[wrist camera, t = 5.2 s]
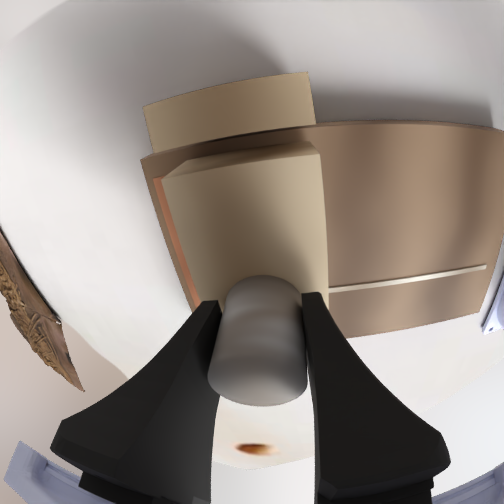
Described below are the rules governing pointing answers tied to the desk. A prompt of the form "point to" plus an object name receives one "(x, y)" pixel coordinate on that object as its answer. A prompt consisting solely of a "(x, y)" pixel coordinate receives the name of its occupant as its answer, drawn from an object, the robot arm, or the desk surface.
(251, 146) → the board
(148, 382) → the robot arm
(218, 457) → the desk surface
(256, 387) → the beige block with knob
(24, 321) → the wooden fragment
